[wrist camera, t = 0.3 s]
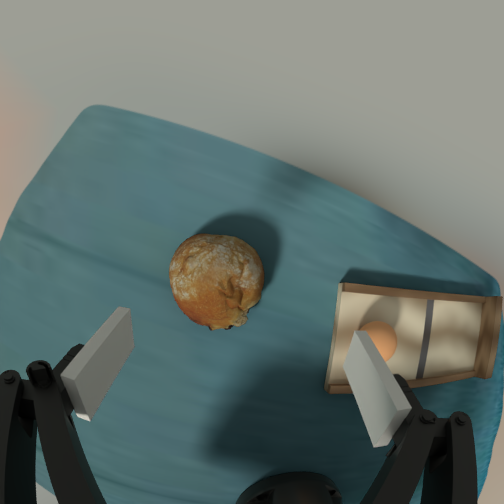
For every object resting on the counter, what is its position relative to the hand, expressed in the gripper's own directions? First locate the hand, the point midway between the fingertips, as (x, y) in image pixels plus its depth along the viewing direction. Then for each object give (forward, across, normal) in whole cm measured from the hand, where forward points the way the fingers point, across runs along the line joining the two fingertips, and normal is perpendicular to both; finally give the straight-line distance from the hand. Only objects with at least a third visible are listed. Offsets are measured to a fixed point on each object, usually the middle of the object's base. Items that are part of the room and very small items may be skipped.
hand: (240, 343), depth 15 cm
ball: (+13, -15, +8) cm, 21 cm away
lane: (+15, -25, +9) cm, 31 cm away
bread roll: (+16, +3, +3) cm, 16 cm away
